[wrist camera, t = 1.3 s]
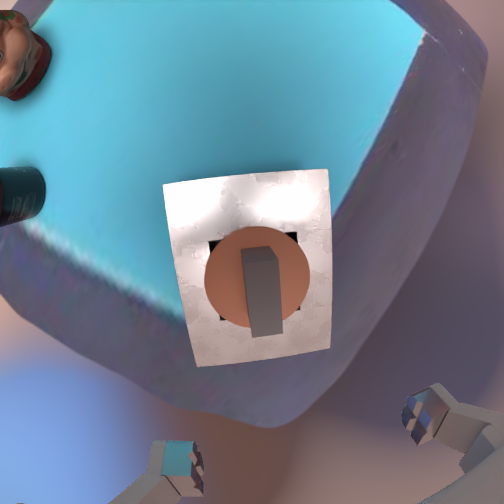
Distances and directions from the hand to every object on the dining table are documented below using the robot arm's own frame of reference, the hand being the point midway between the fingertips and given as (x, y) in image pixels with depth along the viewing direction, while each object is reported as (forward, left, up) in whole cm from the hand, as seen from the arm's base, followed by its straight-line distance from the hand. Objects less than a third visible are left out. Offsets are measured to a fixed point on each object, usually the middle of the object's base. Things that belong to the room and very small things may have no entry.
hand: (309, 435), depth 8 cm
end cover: (0, 0, -22) cm, 22 cm away
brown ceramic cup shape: (-32, -30, -24) cm, 50 cm away
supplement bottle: (-12, -28, -24) cm, 39 cm away
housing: (0, 0, -24) cm, 24 cm away
